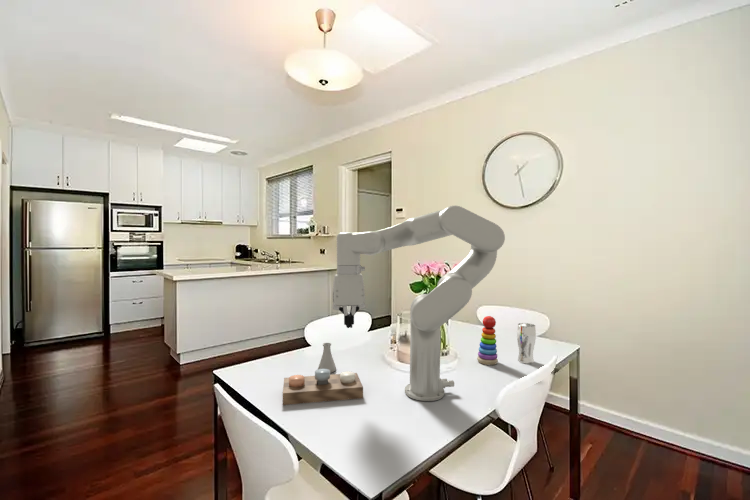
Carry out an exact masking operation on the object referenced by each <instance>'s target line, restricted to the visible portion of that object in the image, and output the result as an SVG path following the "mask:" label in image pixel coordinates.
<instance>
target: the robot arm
mask: <svg viewBox="0 0 750 500" xmlns="http://www.w3.org/2000/svg"><path fill="white" fill-rule="evenodd" d="M450 236H454V237H456V238H458V239H460V240H462V241H464V242H466V243H467V244H470V251H469V252H468V254H467V256H465V257H464V259H463V260H461V261H460V262H459V263H458V264H456V265H455V266H454V267H453V268H451V270H449V271H448V272H447V273H445V274H444V275H442V277H440V278H439V280H438V281H437V284H436V285H437V286H436V287H434V289H432V290H431V291H429V292H428V293H421V294H419V295H417V296H416V297H414V299H412V302H411V304H410V307H409V309H410V311H409V313H410V314H409V315H410V318H409V319H410V323H409V324H410V331H409V332H410V336H409V337H410V344H409V345H410V346H409V349H410V350H409V384H407V385H406V386H404V393H405V396H408V397H409V398H410V399H413V400H417V401H420V402H435V401H438V400H441V399H442V398H444V397H445V392H446V390H445V388H454V387H455V381H454V380H453V379H452V380H448V379H447V378H441V377H440V376H441V338H442V337H441V327H442V326H443V325H444V324H445V323H447V322H448V321H449V320H450V319H451V318H453V317H454V316H455V315H456V314H458V313H459V312H460V311H461V310H462V309H463V308H465V306H466V305H468V304H469V302H470V301H471V298H472V295H473V289H474V288H475V287H476V286H477V285H478V284H479V283H481V282H482V280H484V279H485V278H486V277H487V276H488V275H489V274H490V272H491V271H492V270H493V268H494V266H495V264H496V261H497V257H498V256H497V255H498V250H500V249H501V248H502V247H503V246H504V244H505V240H506V236H505V232H504V230H503V229H502V227H501V226H499V225H498V224H497V223H495V222H493V221H490V220H489V219H487V218H485V217H483V216H481V215H478V214H477V213H474V212H473V211H470V210H469V209H466V208H464V207H462V206H460V205H450V206H447V207H445V208H443V209H440V210H437V211H433V212H430V213H429V212H428V213H426V214H422V215H419V216H418V215H417V216H414V217H411V218H408V219H407V220H404V221H403V222H401V223H398V224H396V225H393V226H390V227H386V228H383V229H379V230H374V231H373V230H372V231H363V232H355V231H353V232H351V231H350V232H349V231H347V232H345V231H344V232H339V233H338V234H337V235H336V274H334V276H333V283H332V307H331V308H332V310H334V311H340V312H341V313H342V315H343V317H344V318H343V325H344V326H345V327H346V328H347V329H349V328H350V329H352V328H353V325H355V315H356V313H357V312H358V311H360V310H362V309H365V308H366V293H365V291H366V290H365V282H364V276H363V274H362V272H363V271H366V269H365V268H366V267H365V266H363V265H361V255H366V256H374V255H377V254H380V253H384V252H387V251H391V250H394V249H399V248H402V247H408V246H409V247H411V246H417V245H420V244H423V243H428V242H431V241H435V240H439V239H441V238H445V237H450ZM348 307H350V310H349V311H348Z"/></svg>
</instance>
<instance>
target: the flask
mask: <svg viewBox="0 0 750 500" xmlns="http://www.w3.org/2000/svg"><path fill="white" fill-rule="evenodd" d="M322 346H323V351H322V355H321V358H320V361H319V364H318V367H317V370H318V369H329V370H330V374H331V373H333V372H336V371H337V366H336V363H335V360H334V357H333V354H332V351H331V346H332V343H331V342H324V343H322Z"/></svg>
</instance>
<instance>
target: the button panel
mask: <svg viewBox="0 0 750 500" xmlns="http://www.w3.org/2000/svg"><path fill="white" fill-rule="evenodd" d="M354 373H355V381H354V382H352V383H342V382H340V374H341V373H333V374H330V379H328V384H324V385H317V380H316V379H315V375H307V376H305V375H303V376H304V377H305V384H304V385H303V386H301V387H291V386H289V377H284V378H283V384H282V385H283V387H282V406H286V405H287V406H288V405H298V404H299V405H300V404H309V403H310V404H311V403H321V402H323V401H325V402H333V401H345V400H348V401H349V400H357V399H358V400H360V399H363V398H364V386H363V384H362V382H361V379H360V377H359V375H358V373H357V372H354Z"/></svg>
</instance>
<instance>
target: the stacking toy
mask: <svg viewBox="0 0 750 500" xmlns="http://www.w3.org/2000/svg"><path fill="white" fill-rule="evenodd" d="M496 323H497V322H496V319H495V318H494V316H491V315H487V316H484V318H483V320H482V325H483V326H484V327H482V329H481V330H482V332H481V338H480V342H479V347H478V353H477V358H476V359H477V362H478V363H480V364H482V365H486V366H493V365H497V364H498V362H499V361H498V353H497V352H498V350H497V344H496V343H497V339H496V336H497V335H496V334H495V333H496V329H495V326H496Z"/></svg>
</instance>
